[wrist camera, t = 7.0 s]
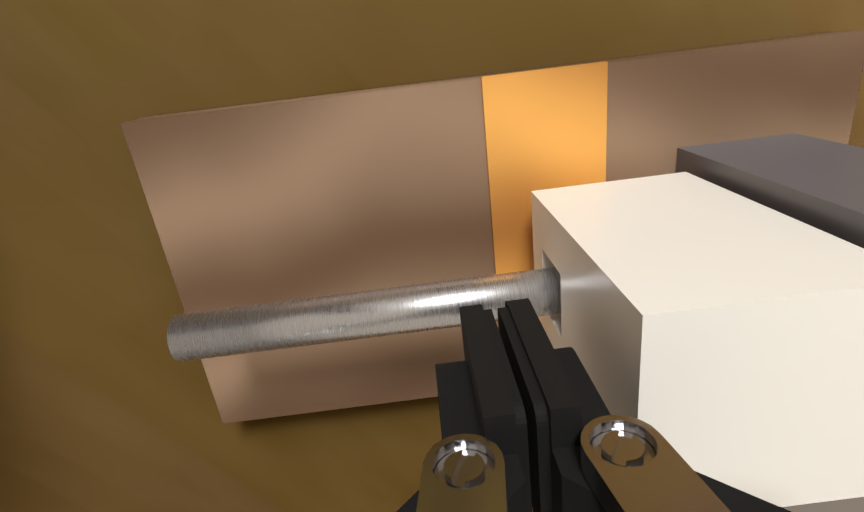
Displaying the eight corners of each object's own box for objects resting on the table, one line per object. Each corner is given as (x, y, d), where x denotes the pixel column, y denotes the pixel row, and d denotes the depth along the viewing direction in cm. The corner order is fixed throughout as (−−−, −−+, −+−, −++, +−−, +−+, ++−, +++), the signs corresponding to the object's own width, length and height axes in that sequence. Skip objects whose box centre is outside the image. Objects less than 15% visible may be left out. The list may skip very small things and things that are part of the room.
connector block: (769, 290, 20) (991, 437, 12) (666, 303, 19) (827, 458, 12) (793, 132, 17) (1087, 195, 10) (677, 147, 17) (883, 220, 10)
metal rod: (713, 280, 16) (740, 300, 15) (195, 345, 16) (176, 371, 15) (717, 238, 15) (746, 256, 14) (182, 306, 15) (161, 329, 14)
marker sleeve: (675, 308, 18) (870, 495, 11) (536, 326, 18) (632, 526, 10) (685, 171, 16) (933, 278, 9) (531, 190, 16) (642, 315, 9)
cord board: (781, 331, 22) (809, 352, 21) (234, 401, 22) (222, 427, 20) (834, 29, 17) (875, 28, 16) (142, 115, 17) (117, 122, 16)
